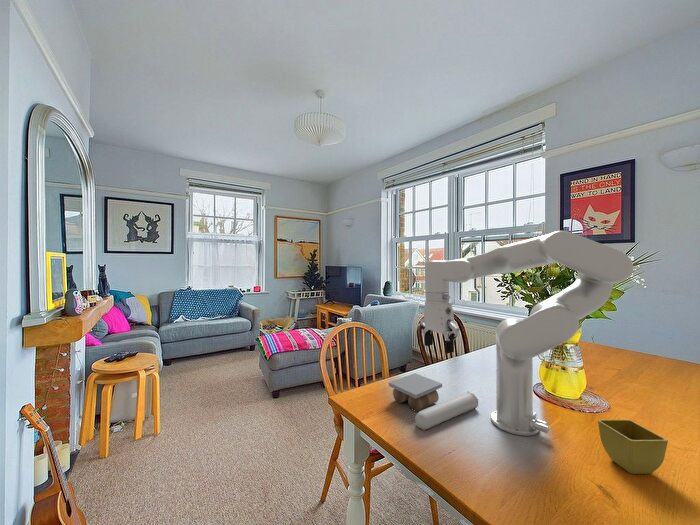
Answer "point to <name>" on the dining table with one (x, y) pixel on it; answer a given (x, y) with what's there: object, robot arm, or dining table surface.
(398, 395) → the rollers
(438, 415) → the tube
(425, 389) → the slab
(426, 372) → the dining table surface
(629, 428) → the flower pot
